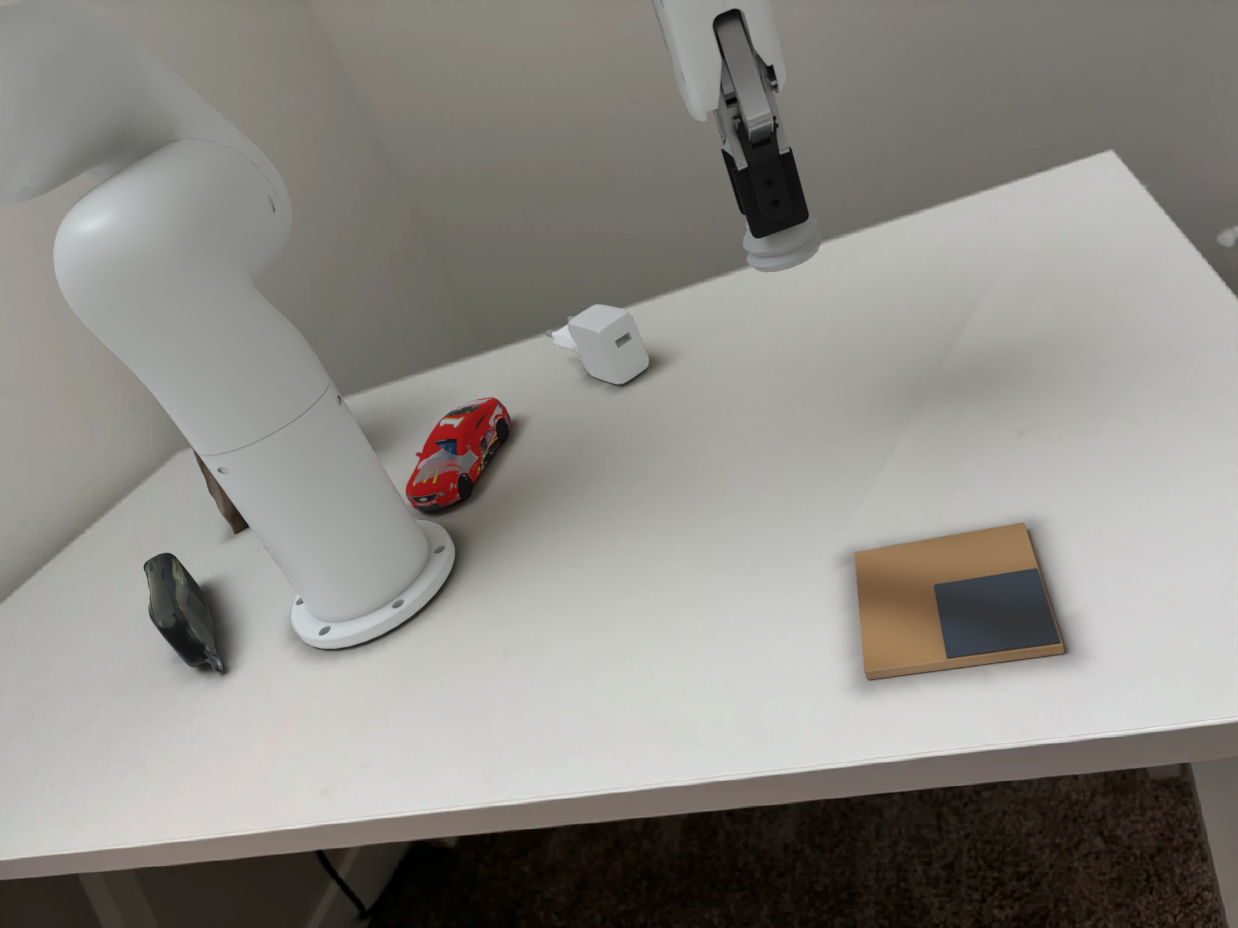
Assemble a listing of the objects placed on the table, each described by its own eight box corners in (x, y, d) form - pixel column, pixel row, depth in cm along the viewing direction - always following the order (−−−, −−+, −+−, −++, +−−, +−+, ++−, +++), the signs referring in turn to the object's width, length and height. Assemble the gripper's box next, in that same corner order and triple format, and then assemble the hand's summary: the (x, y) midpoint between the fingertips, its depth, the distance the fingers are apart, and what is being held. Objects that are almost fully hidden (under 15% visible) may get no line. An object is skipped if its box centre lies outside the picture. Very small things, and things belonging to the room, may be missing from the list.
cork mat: (856, 559, 54) (853, 549, 53) (1025, 530, 51) (1023, 518, 50) (866, 680, 46) (863, 669, 46) (1064, 653, 44) (1062, 641, 43)
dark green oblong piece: (133, 562, 76) (152, 640, 64) (168, 541, 77) (193, 614, 65) (170, 607, 79) (195, 691, 66) (203, 586, 80) (234, 665, 67)
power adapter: (552, 369, 90) (527, 315, 87) (591, 343, 92) (568, 289, 89) (617, 393, 81) (592, 333, 78) (659, 363, 83) (637, 304, 80)
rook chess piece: (736, 263, 56) (694, 133, 52) (801, 231, 57) (765, 100, 53) (769, 282, 53) (727, 143, 49) (839, 247, 53) (803, 107, 49)
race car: (459, 516, 74) (436, 475, 72) (404, 521, 76) (380, 482, 74) (524, 418, 83) (505, 380, 81) (473, 425, 86) (454, 389, 84)
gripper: (591, -115, 52) (694, 199, 61) (598, -114, 38) (731, 294, 47) (723, -172, 51) (807, 156, 60) (780, -193, 37) (879, 241, 46)
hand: (773, 214), depth 53 cm, fingers closed on rook chess piece, 3 cm apart
